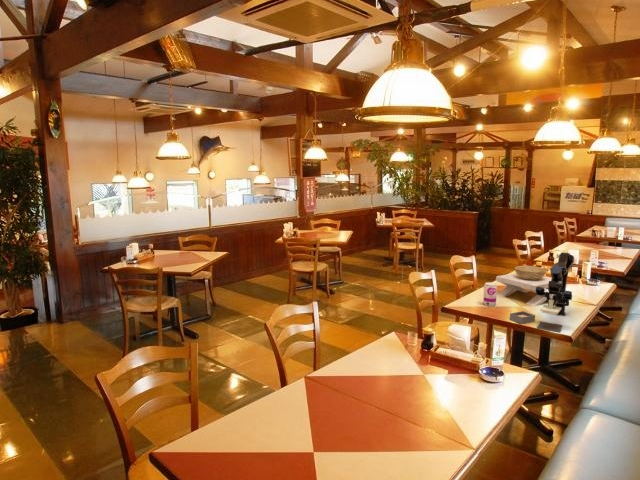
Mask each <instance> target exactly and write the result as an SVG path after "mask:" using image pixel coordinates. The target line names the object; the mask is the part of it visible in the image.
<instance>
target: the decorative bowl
mask: <svg viewBox="0 0 640 480" xmlns="http://www.w3.org/2000/svg"><path fill="white" fill-rule="evenodd" d="M514 272H515V273H508V274H502V275H497V276H496V277H495V281H496V282H498V283H500V284H502V285H505V287H504V288H502V289H501V290H500V291H498V292H497V295H498V296H499V297H502V298H505V297H510V295H512V294H513V293H514V292H516V291H518V292H522V293H524V294H526V293H530V292H533V293H535V294H536V287H544V290H545V289H547V290H549V289H548V284H549V281H551V279H552V277H551V276H546V273H547V269H546V268H544V267H541V266H537V265H536V266H533V265H517V266H515V267H514ZM497 295H496V296H497ZM552 298H553V294H550V299H552ZM545 302H547V298H546V297H544V295H543V296H541V295H537V294H536V295H535V296H533V297H532V298H531V299H530V300H528V301H527V302H526V303H525V304H526V305H530V306H532V307H537V306H541V305H542V304H543V303H545Z"/></svg>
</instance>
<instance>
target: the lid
mask: <svg viewBox="0 0 640 480" xmlns="http://www.w3.org/2000/svg"><path fill="white" fill-rule="evenodd" d="M553 303H554V300H552V299H550V300H549V305H548V304H543V306H542V307H541V308H540V309H539V311H540V312H542V313H544V314H550V315H554V316H555V315H558V313H559V312H560V310H561V307H555V306H553Z"/></svg>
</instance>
